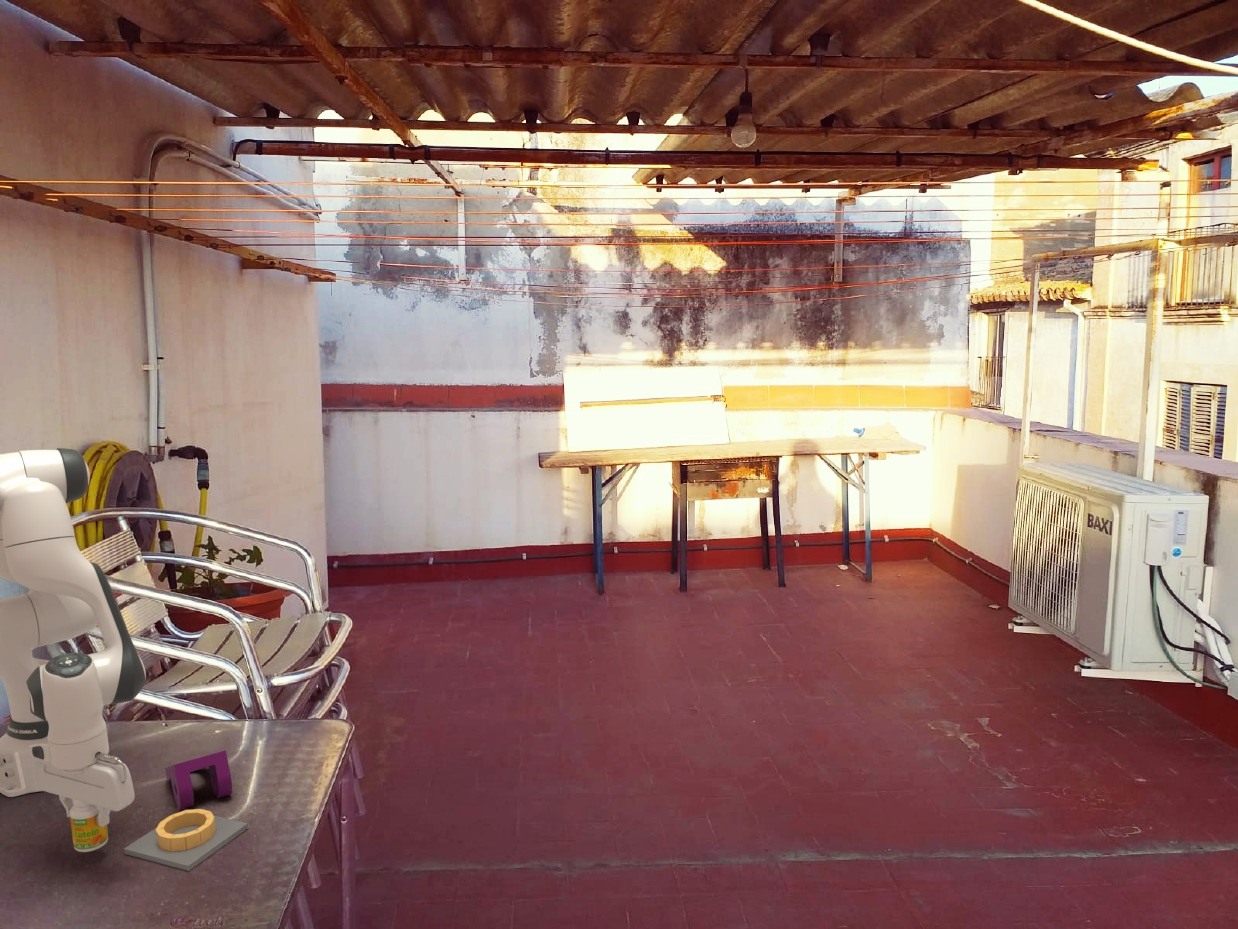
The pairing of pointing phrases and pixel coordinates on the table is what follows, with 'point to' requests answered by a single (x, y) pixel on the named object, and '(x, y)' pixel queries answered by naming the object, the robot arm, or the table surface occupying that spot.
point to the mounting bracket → (213, 762)
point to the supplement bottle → (86, 827)
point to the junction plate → (188, 855)
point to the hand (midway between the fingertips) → (88, 820)
